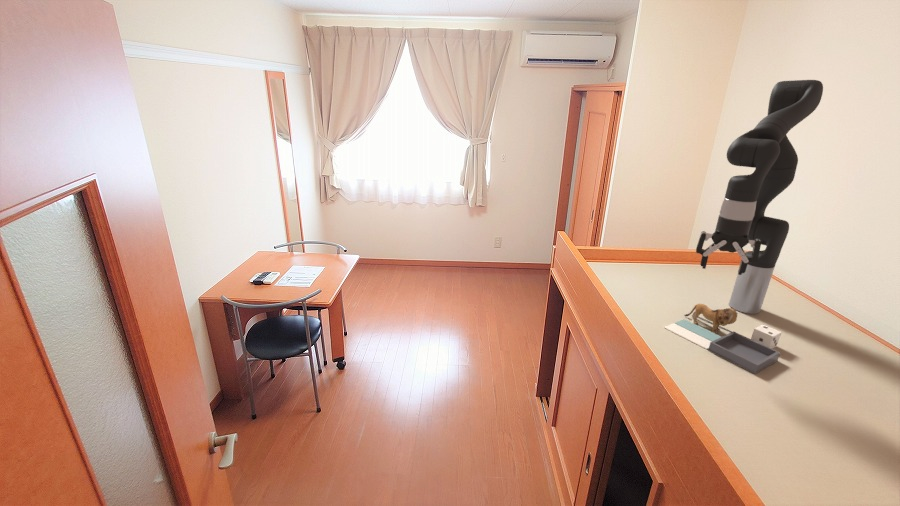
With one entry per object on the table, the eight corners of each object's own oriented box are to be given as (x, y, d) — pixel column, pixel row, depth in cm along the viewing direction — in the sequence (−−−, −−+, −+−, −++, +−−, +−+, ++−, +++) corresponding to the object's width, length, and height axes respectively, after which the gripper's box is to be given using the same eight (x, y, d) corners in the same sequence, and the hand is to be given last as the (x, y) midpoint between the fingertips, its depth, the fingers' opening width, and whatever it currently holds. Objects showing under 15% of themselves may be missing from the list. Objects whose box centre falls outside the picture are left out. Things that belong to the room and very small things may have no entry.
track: (694, 315, 137) (694, 314, 137) (737, 334, 126) (737, 333, 126) (664, 327, 129) (664, 327, 129) (706, 349, 118) (706, 348, 118)
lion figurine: (734, 334, 126) (742, 309, 123) (727, 339, 123) (734, 313, 120) (687, 314, 137) (693, 291, 134) (679, 319, 135) (685, 295, 131)
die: (757, 338, 124) (762, 324, 122) (776, 346, 120) (782, 332, 118) (749, 342, 122) (754, 328, 120) (768, 351, 118) (773, 336, 116)
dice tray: (730, 339, 123) (733, 331, 122) (777, 360, 113) (780, 352, 112) (708, 350, 117) (710, 342, 116) (754, 374, 107) (757, 365, 106)
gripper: (767, 215, 107) (750, 271, 112) (705, 208, 113) (692, 261, 119) (770, 223, 101) (753, 281, 107) (705, 215, 107) (692, 270, 113)
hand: (721, 270), depth 113 cm, fingers open, 8 cm apart
